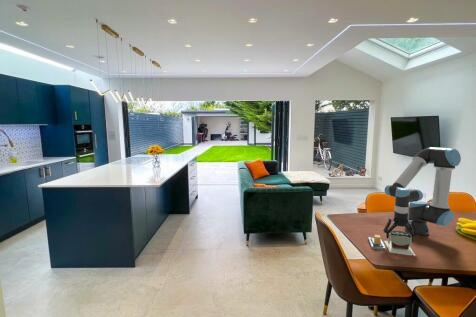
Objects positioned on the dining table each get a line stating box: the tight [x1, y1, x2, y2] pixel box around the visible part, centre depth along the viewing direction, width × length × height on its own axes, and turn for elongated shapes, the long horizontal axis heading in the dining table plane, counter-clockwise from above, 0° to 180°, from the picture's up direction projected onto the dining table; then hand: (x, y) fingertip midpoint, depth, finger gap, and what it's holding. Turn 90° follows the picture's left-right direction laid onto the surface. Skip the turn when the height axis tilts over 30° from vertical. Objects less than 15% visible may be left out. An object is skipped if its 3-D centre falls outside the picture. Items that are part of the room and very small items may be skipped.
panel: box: [367, 236, 387, 251], centre depth 172 cm, size 8×15×2 cm, turn 161°
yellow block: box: [373, 234, 382, 245], centre depth 169 cm, size 3×4×5 cm
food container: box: [390, 230, 412, 250], centre depth 166 cm, size 12×6×10 cm, turn 71°
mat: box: [383, 240, 417, 257], centre depth 167 cm, size 14×18×1 cm
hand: (399, 244), depth 167 cm, fingers closed on food container, 11 cm apart
